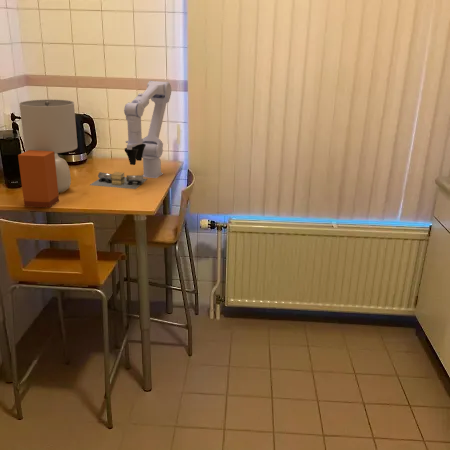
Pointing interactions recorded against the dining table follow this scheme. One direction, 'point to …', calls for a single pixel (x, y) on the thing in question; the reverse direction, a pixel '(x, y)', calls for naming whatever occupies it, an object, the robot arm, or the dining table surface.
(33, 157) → the tall terracotta brick
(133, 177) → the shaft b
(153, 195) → the dining table surface
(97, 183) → the mat
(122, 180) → the tan rectangular block
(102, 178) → the shaft
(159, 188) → the dining table surface
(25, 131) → the lamp
